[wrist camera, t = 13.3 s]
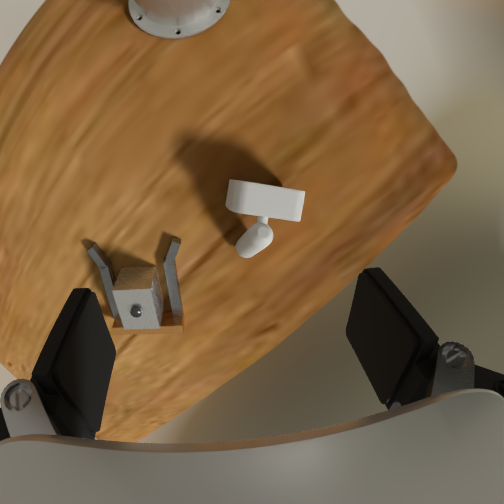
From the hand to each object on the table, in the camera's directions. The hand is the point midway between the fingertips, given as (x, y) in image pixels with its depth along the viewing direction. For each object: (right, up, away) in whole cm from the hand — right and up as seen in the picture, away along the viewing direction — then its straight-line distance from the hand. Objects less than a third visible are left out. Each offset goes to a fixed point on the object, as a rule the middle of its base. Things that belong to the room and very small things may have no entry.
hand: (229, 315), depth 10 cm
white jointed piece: (+1, +8, +31) cm, 32 cm away
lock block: (-16, -3, +34) cm, 38 cm away
